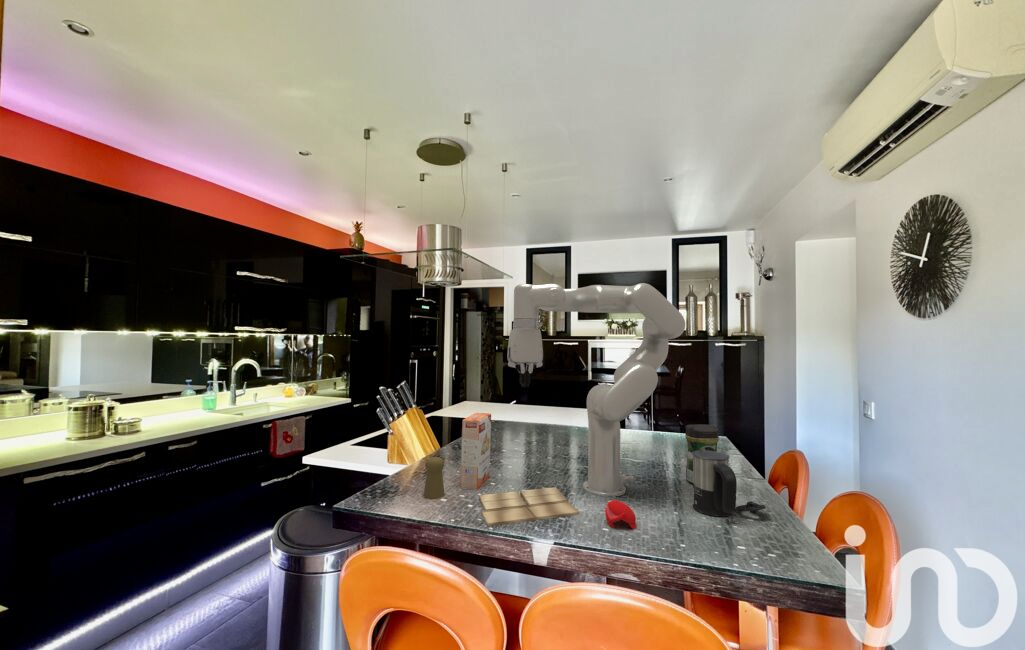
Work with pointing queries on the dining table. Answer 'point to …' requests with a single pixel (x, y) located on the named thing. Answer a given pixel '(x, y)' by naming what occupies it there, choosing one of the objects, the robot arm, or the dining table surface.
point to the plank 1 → (501, 500)
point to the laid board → (528, 513)
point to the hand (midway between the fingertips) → (525, 386)
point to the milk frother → (716, 485)
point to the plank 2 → (542, 496)
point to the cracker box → (475, 450)
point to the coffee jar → (699, 443)
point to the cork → (434, 478)
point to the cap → (619, 513)
